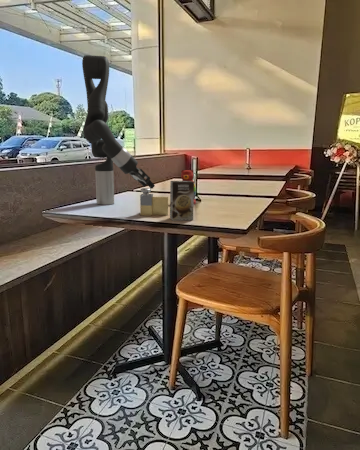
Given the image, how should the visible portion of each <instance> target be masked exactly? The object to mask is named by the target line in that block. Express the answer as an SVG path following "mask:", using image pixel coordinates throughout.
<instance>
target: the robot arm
mask: <svg viewBox="0 0 360 450" xmlns="http://www.w3.org/2000/svg"><path fill="white" fill-rule="evenodd" d="M81 63H82V72H83V74H82V75H83V79H84V85H85V90H86V91H85V92H86V101H87V114H86V118H85V121H84V125H83V131H82V132H83V136H84V138H85V140H86V141H87V142H89V143H90V145H91V148H90V149H91V153H92V156H93V157H94V158H106V160H105V161H103V162H101V163H99V164H96V165H95V166H94V167H95V168H94V169H95V174H94V175H95V191H96V192H95V193H96V194H95V195H96V196H95V197H96V199H95V200H96V204H97V205H107V206H108V205H113V204H115V183H114V182H115V181H114V178H115V177H114V165H116V167H118V168H119V169H120V171H122V173H124V174H125V175H127V174H129V175H130V176H131V177H132V178H133V180H135V181H136V182H138V183H140V185H141V186H142V187H144V188H146V186H148V188H150V189H151V190H152V189H154V188H155V187H156V186H155V183H154V182H153V181H151V180H150V179H151V177H150V176H149V175H148V174H147V173H146V172H145V171H144V170H143V169H142V168H140V167H137V166H138V160H137V159H136V158H135V157H134V156H133V154H131V153H130V152H129V151H128V150H127V149H126V148H125V147H124V146H123V145H122V144H121V143H120V142H119V141H118V140H117V139H116V137H115V135H114V134H113V132H112V131H111V128H110V127H109V125H108V119H109V106H108V103H107V101H106V96H107V92H108V84H109V77H110V63H109V58H108V57H107V56H104V55H90V54H89V55H88V54H87V55H84V56H83V57H82V62H81ZM94 80H99V82H98V84H97V85H95V83H94Z"/></svg>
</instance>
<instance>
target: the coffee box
mask: <svg viewBox="0 0 360 450" xmlns="http://www.w3.org/2000/svg"><path fill="white" fill-rule="evenodd" d="M193 181H194V180H192V181H182V180H170V192H169V193H170V194H169V195H170V198H169V219H170V220H171V221H174V222H175V221H193V220H194V205H195V204H194V183H195V181H194V182H193Z"/></svg>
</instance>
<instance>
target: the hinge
mask: <svg viewBox="0 0 360 450" xmlns="http://www.w3.org/2000/svg"><path fill="white" fill-rule="evenodd" d="M139 197H140V200H139V201H140V204H139V206H140V216H145V217H147V216H148V217H149V216H150V217H151V216H153V215H154V216H168V215H169V197H168V196H154V194H153V193H149V195H143V193H141V194H140V195H139Z"/></svg>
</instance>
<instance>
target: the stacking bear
mask: <svg viewBox="0 0 360 450" xmlns="http://www.w3.org/2000/svg"><path fill="white" fill-rule="evenodd" d="M180 172H181V175H180V177H181V179H182V180H181V181H193V182H194V205H195V204H197V201H196V194H197V188H196V184H195V181H194V180H193V179H194V170H193V169H190V170H189V169H185V170H184V169H182V170H181V171H180Z"/></svg>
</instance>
